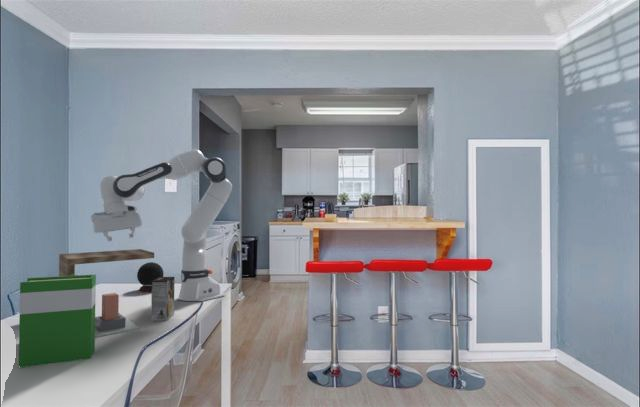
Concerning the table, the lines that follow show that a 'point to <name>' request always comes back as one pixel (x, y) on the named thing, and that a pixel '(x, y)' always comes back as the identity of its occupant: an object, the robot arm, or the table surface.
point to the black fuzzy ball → (149, 275)
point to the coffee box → (162, 299)
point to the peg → (110, 306)
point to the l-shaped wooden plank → (98, 258)
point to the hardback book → (56, 319)
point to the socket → (113, 326)
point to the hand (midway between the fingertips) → (121, 239)
